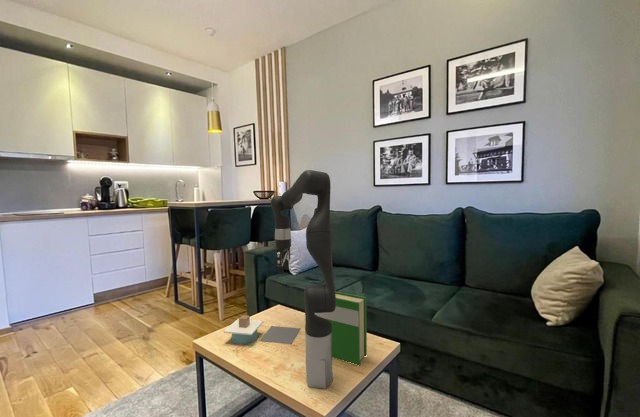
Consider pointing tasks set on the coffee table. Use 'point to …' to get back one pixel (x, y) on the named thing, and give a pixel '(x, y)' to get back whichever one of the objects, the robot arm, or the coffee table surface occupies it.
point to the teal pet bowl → (244, 338)
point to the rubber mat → (280, 335)
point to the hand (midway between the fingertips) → (283, 271)
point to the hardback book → (348, 327)
